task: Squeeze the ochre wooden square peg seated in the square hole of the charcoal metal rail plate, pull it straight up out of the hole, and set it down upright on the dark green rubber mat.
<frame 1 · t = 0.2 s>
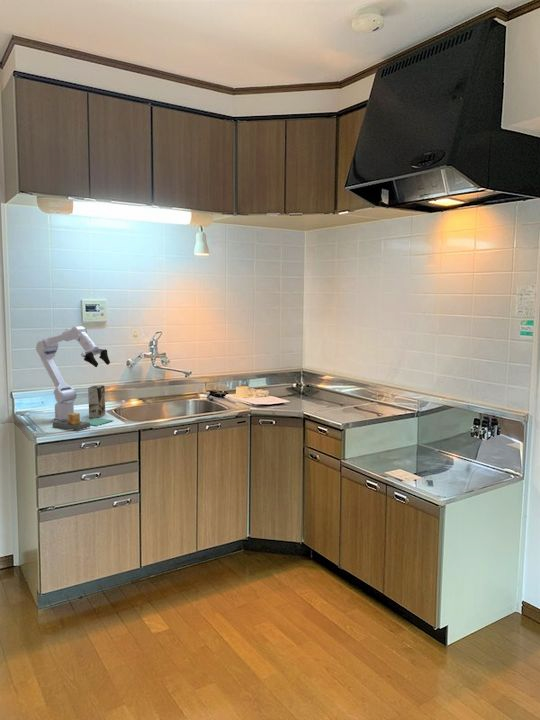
hand: (103, 364, 274), 31 cm above the countertop, tool tilted 45°, fingers open, 7 cm apart
peg: (74, 427, 273), resting in rail plate
rail plate: (71, 427, 274), on the countertop
coffee box: (97, 416, 299), on the countertop
mat: (96, 422, 283), on the countertop
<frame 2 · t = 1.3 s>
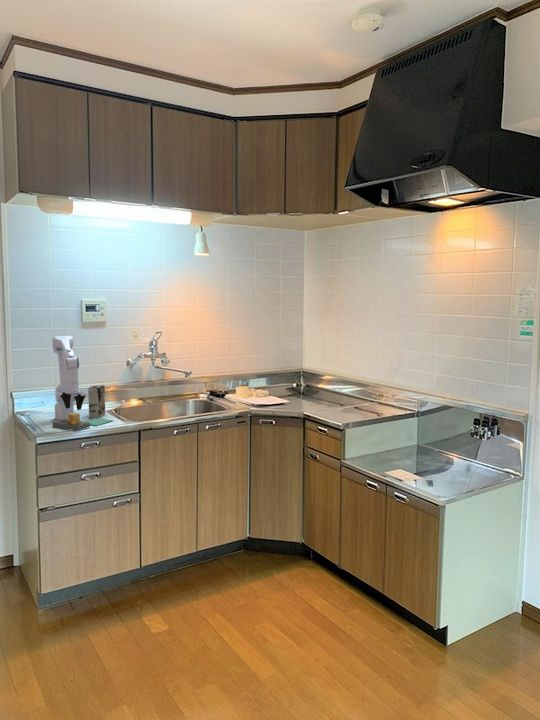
hand: (73, 408, 271), 10 cm above the countertop, tool pointing down, fingers open, 7 cm apart
nothing on the countertop moved.
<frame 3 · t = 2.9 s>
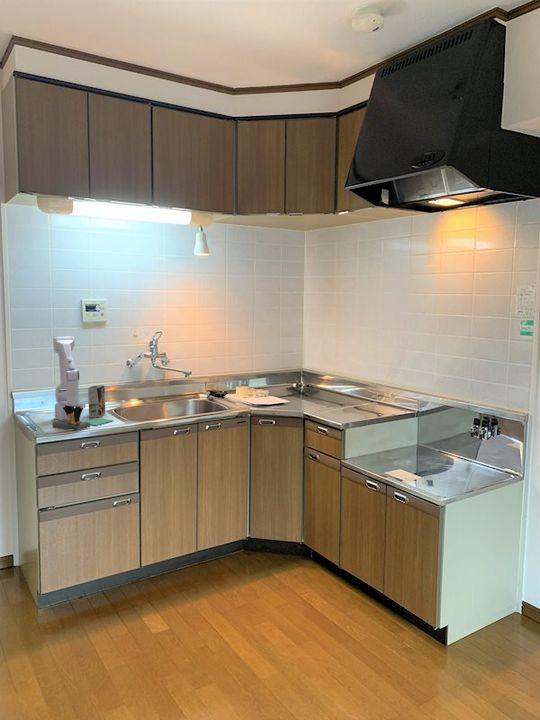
hand: (73, 420, 272), 3 cm above the countertop, tool pointing down, fingers closed on peg, 4 cm apart
peg: (74, 427, 273), resting in rail plate, touching gripper
everything else where it was.
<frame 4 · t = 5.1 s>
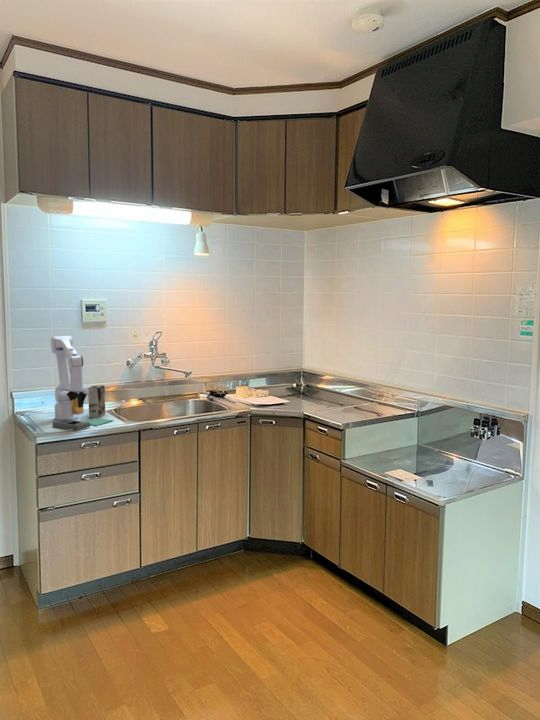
hand: (77, 406, 273), 10 cm above the countertop, tool pointing down, fingers closed on peg, 4 cm apart
peg: (77, 413, 274), point 7 cm above the countertop, touching gripper
everything else where it was.
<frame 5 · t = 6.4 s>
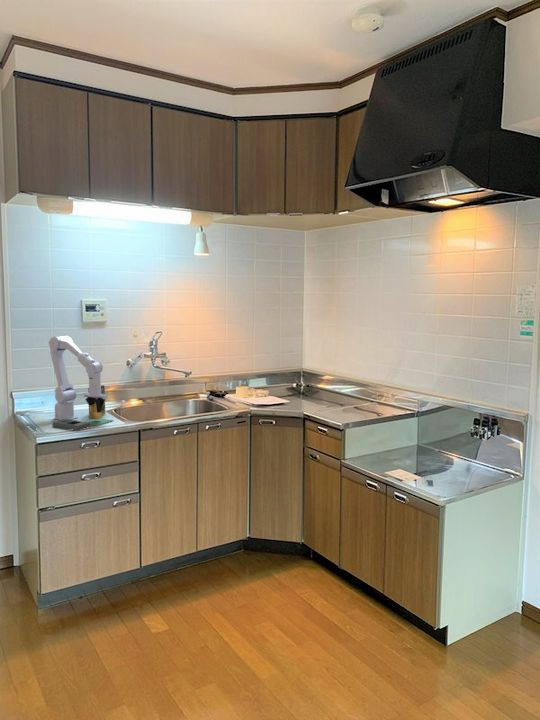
hand: (96, 411, 283), 6 cm above the countertop, tool pointing down, fingers closed on peg, 4 cm apart
peg: (95, 418, 283), point 2 cm above the countertop, touching gripper
everything else where it was.
when the fingers open (5 cm above the countertop, at t = 7.3 s): peg drops 1 cm, resting on mat.
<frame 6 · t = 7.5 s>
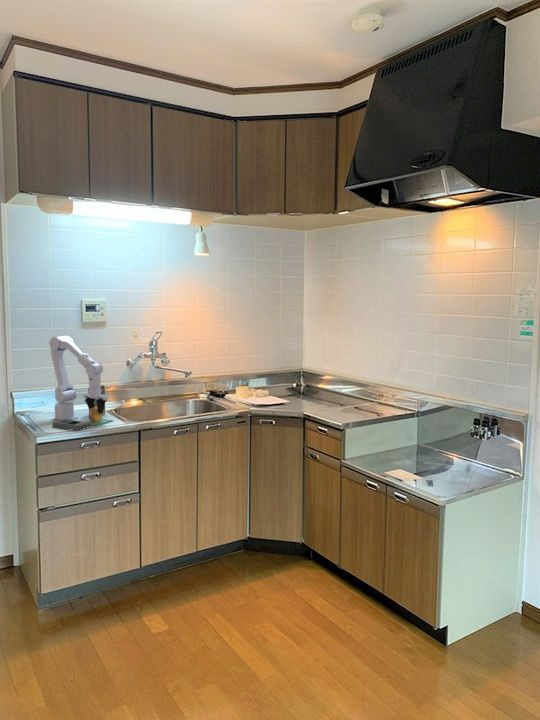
hand: (96, 412, 283), 5 cm above the countertop, tool pointing down, fingers open, 5 cm apart
peg: (95, 421, 283), point 1 cm above the countertop, touching mat
everything else where it was.
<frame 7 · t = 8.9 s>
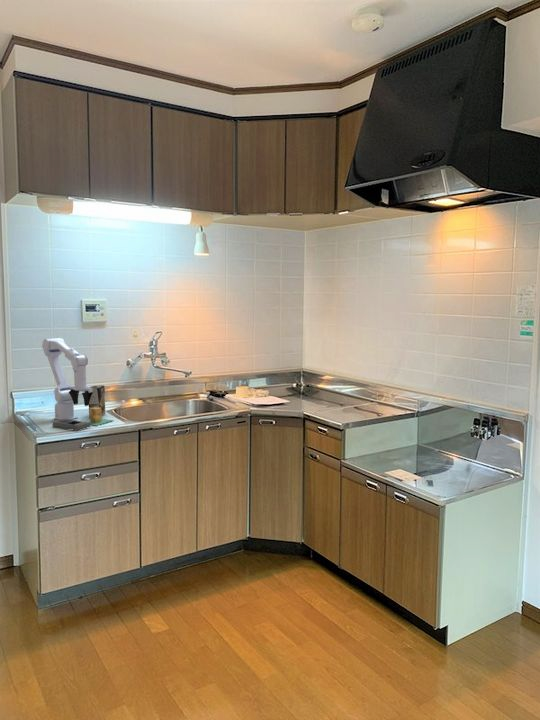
hand: (81, 405, 281), 9 cm above the countertop, tool pointing down, fingers open, 7 cm apart
nothing on the countertop moved.
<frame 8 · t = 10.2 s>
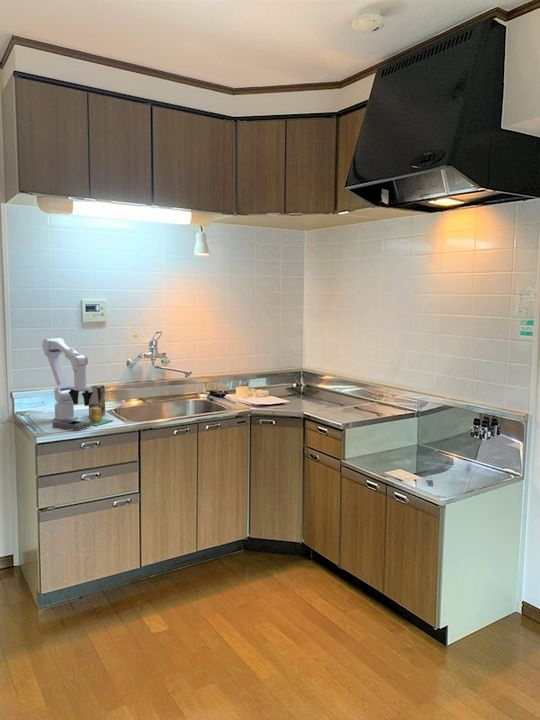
hand: (81, 404, 281), 9 cm above the countertop, tool pointing down, fingers open, 7 cm apart
nothing on the countertop moved.
at the end: peg inside the target area on the mat (0.2 cm from its centre), point 0.6 cm above the mat's base; peg tilted 0°; the gripper is holding nothing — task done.
